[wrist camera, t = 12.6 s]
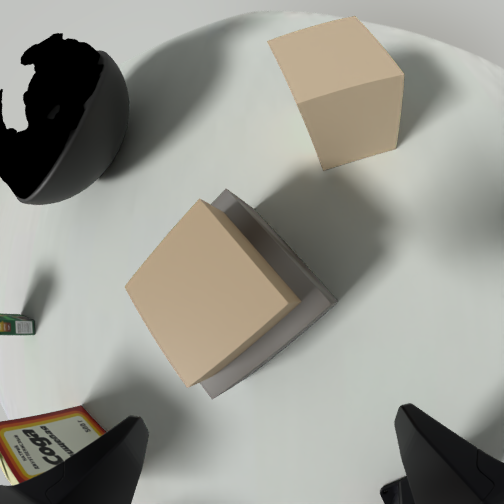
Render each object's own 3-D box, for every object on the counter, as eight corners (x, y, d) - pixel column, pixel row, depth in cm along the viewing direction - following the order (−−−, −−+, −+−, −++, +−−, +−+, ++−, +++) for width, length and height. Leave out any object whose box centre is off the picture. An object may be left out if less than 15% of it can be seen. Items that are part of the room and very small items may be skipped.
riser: (338, 301, 20) (331, 303, 15) (242, 380, 22) (212, 399, 17) (253, 208, 23) (226, 188, 19) (175, 289, 25) (137, 286, 20)
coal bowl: (54, 212, 36) (-45, 182, 19) (97, 99, 37) (16, 50, 20) (129, 233, 28) (-35, 186, 11) (185, 77, 29) (83, -16, 12)
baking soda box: (126, 451, 25) (21, 490, 11) (120, 477, 25) (30, 515, 11) (81, 405, 29) (-17, 423, 14) (78, 434, 29) (-8, 455, 14)
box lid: (301, 301, 16) (288, 303, 13) (213, 376, 17) (187, 387, 14) (223, 212, 18) (199, 198, 16) (153, 288, 20) (124, 286, 17)
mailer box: (395, 148, 19) (404, 74, 11) (323, 170, 21) (296, 104, 13) (364, 91, 21) (354, 15, 13) (300, 110, 23) (266, 40, 15)
